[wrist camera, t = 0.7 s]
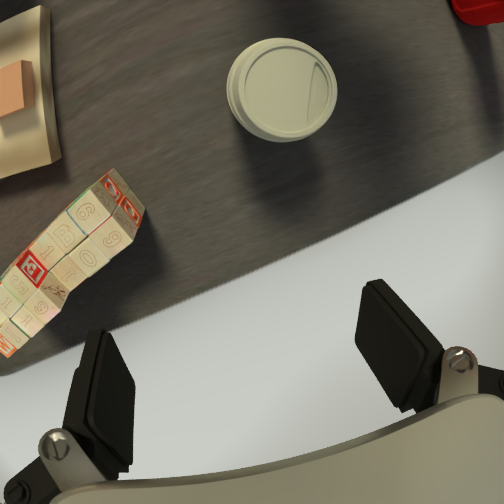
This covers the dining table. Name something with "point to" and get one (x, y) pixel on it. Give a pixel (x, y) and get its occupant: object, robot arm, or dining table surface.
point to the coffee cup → (281, 90)
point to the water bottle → (479, 11)
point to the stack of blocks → (66, 257)
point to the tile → (16, 88)
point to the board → (43, 113)
